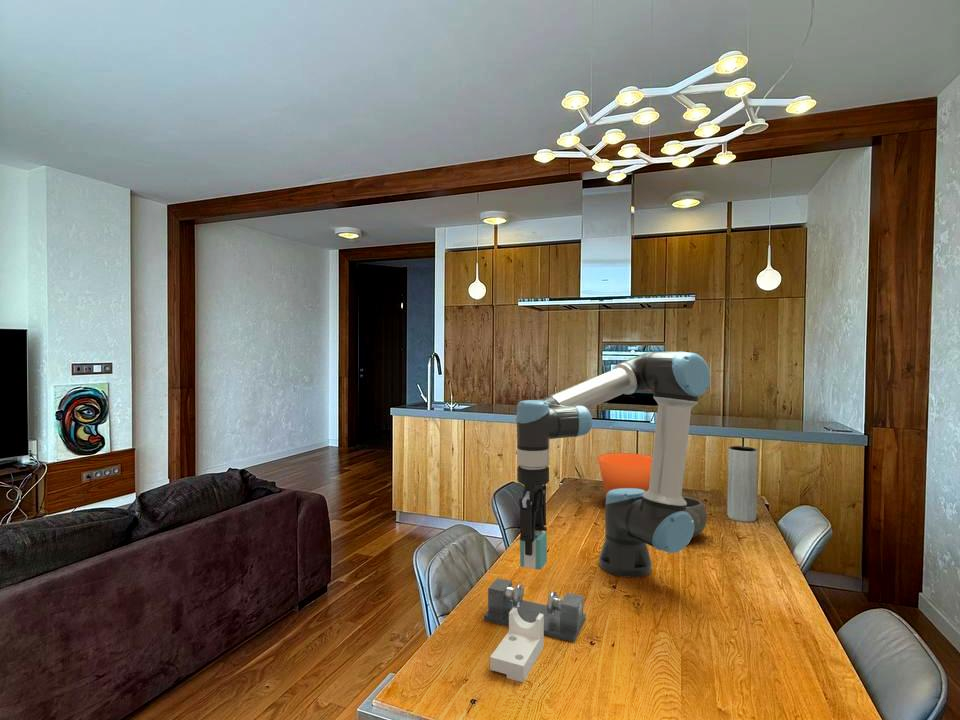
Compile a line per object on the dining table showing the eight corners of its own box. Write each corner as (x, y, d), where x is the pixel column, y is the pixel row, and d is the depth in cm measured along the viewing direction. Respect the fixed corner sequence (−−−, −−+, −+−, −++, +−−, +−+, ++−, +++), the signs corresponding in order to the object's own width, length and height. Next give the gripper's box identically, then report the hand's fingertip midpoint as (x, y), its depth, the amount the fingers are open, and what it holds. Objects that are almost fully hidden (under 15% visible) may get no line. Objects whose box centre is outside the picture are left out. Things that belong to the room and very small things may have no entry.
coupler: (546, 561, 124) (546, 530, 123) (540, 569, 119) (540, 537, 119) (527, 558, 126) (527, 527, 125) (520, 566, 121) (519, 534, 121)
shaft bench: (585, 618, 123) (586, 588, 123) (574, 642, 113) (575, 609, 113) (500, 599, 133) (501, 571, 132) (483, 620, 123) (483, 589, 122)
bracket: (513, 640, 115) (513, 607, 114) (543, 648, 112) (543, 614, 111) (490, 674, 103) (490, 637, 103) (523, 684, 100) (523, 645, 100)
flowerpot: (669, 516, 199) (669, 466, 199) (604, 516, 200) (605, 465, 199) (649, 498, 224) (649, 453, 224) (591, 497, 225) (592, 452, 224)
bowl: (649, 541, 174) (650, 504, 173) (653, 524, 190) (653, 490, 190) (707, 549, 167) (707, 510, 167) (705, 531, 184) (706, 496, 183)
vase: (757, 516, 200) (758, 447, 199) (755, 524, 191) (756, 452, 191) (728, 512, 205) (730, 445, 205) (725, 519, 197) (726, 449, 196)
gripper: (530, 456, 131) (531, 546, 132) (504, 473, 115) (505, 575, 116) (558, 459, 128) (559, 550, 129) (536, 476, 112) (537, 581, 113)
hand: (533, 562), depth 122 cm, fingers closed on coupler, 5 cm apart
